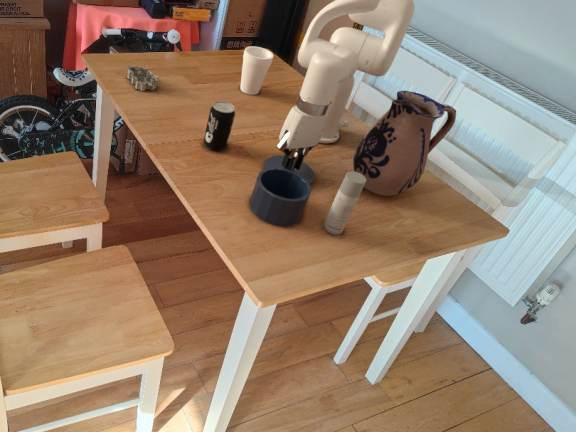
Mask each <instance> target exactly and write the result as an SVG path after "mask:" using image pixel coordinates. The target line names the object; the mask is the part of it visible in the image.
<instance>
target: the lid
mask: <svg viewBox="0 0 576 432" xmlns="http://www.w3.org/2000/svg"><path fill="white" fill-rule="evenodd" d="M284 155H285V154H284ZM284 155H283V154H280V155H279V154H278V155H272V156H270V157H268V158H267V159H265V161H264V163H263V170H264V169H267V168H273V167H276V168H284V167H283V166H282V161H283V158H284ZM293 158H294V161H293V164H292V167H291V169H290V171H293V172H295V173H297V174H299V175H300V176H302V177H303V178H304V179H305V180H306V181H307V182H308V183H309V185H310V186H311V184H312V183H313V182H314V180H315V176H316V175H315V172H314V171H313V169H312V168H311V167H310V165H308V163H306V162H304V160H303V161H302V164H301V167H300V169H299V170H297V169H296V168H295V167H296V164H297V161H298V158H299V154H298V153H297V152H295V153H294V156H293ZM284 169H285V168H284Z"/></svg>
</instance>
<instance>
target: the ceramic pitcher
mask: <svg viewBox="0 0 576 432" xmlns="http://www.w3.org/2000/svg"><path fill="white" fill-rule="evenodd" d="M445 112H446V114H447V118H446V119H445V120H446V121H445V123H444V124H443V125H442V126H441V128H439V130H438V131H437V132H436V133H435V134H434V136H432V131H433V125H434V122H435V121H436V120H437V119H440V118H442V117H443V116H444V115H445ZM456 119H457V110H456V109H455V108H454V107H453V106H451V105H449V104H443V103H440V102H438V101H437V100H435V99H433V98H431V97H429V96H428V95H425V94H422V93H419V92H415V91H409V90H399V91H397V92H396V99H393V100H392V101H391V105H390V107H389V109H388V110H387V111H386V112H385V113H384V114H383V115H381V116H380V117H379V118H378V119H377V120H375V121H376V122H375V123H374V124H373V125H372V126H371V127H370V128H369V130H368V131H367V132H366V133H365V135H364V136H363V137H362V139H361V140H360V141H359V143H358V145H357V147H356V149H355V151H354V154H353V159H352V169H353V171H354V172H358V173H360V174H362V175H363V176H364V177H365V178H366V183H365V185H364V187H363V189H365V190H367V191H368V192H370V193H373V194H376V195H379V196H382V197H383V196H384V197H388V196H397V195H400V194H402V193H404V192H407V191H408V190H409V189H411V188H413V187H414V186H415V185H416V184H417V183H418V182H419V180H420V179H421V177H422V176H423V174H424V171H425V169H426V165H427V162H428V157H429V154H430V153H431V152H432V151H433V150H434V148H435V147H436V146H437V145H438V144H440V142H442V141H443V139H444V138H445V137H446V136H447V134H448V133H449V132H450V131H451V129H452V128H453V126H454V125H455V123H456Z"/></svg>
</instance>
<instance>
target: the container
mask: <svg viewBox="0 0 576 432" xmlns="http://www.w3.org/2000/svg"><path fill="white" fill-rule="evenodd" d="M365 183H366V178H365V177H364V176H363V175H362V174H360V173H358V172H354V170H351V171H347V172H346V174H345V176H344V178H343V180H342V182H341V185H340V186H339V188H338V190H337V192H336V194H335V197H334V199H333V201H332V204H331V206H330V208H329V211H328V213H327V215H326V217H325V220H324V222H323V225H322V226H323V229H324V230H325V231H326V232H327V233H328V234H331V235H336V236H338V235H341V234H342V233H343V231H344V230H345V227H346V225H347V223H348V222H349V219H350V217H351V216H352V213H353V211H354V209H355V206H356V205H357V203H358V201H359V198H360V196H361V194H362V192H363V189H364V185H365Z"/></svg>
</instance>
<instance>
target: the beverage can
mask: <svg viewBox="0 0 576 432" xmlns="http://www.w3.org/2000/svg"><path fill="white" fill-rule="evenodd" d="M235 117H236V111H235V106H234V105H233V104H232V103H230V102H228V101H226V100H225V101H224V100H218V101H215V102H213V104H212V106H211V107H210V109H209V114H208V118H207V123H206V127H205V132H204V137H203V144H204V146H205V147H206V148H207V149H208V150H210V151H213V152H221V151H223V150H225V149H226V148H227V147H228V144H229V140H230V136H231V134H232V133H231V132H232V128H233V124H234V121H235Z"/></svg>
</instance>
